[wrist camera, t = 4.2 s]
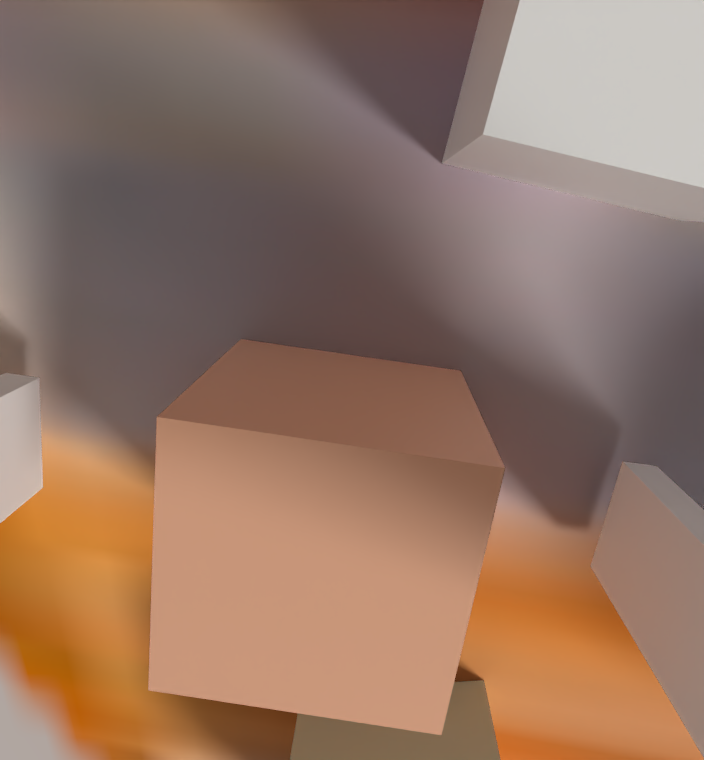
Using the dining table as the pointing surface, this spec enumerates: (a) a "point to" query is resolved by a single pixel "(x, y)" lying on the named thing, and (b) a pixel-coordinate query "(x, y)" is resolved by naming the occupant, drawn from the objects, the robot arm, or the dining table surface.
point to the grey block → (588, 101)
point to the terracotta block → (319, 535)
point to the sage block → (404, 734)
